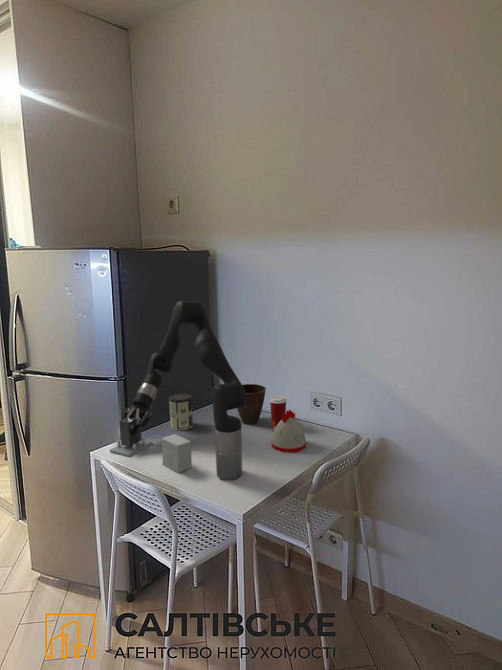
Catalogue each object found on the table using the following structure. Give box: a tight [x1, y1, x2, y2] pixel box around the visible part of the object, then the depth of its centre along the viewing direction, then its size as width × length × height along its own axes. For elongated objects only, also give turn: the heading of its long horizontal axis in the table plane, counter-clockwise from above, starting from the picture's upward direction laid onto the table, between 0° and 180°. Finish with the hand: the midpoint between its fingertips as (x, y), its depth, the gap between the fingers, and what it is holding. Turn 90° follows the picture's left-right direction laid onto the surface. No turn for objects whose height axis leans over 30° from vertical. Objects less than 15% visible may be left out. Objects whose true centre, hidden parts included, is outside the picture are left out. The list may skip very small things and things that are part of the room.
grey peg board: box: [109, 437, 153, 458], centre depth 190 cm, size 14×10×4 cm
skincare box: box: [161, 433, 193, 474], centre depth 173 cm, size 10×6×10 cm, turn 44°
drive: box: [119, 416, 143, 447], centre depth 189 cm, size 7×5×10 cm
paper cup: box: [269, 395, 288, 429], centre depth 208 cm, size 8×8×14 cm
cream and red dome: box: [271, 409, 307, 453], centre depth 189 cm, size 14×14×15 cm
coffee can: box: [168, 392, 194, 431], centre depth 212 cm, size 10×10×14 cm
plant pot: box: [236, 383, 267, 425], centre depth 216 cm, size 15×15×16 cm
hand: (127, 433), depth 188 cm, fingers closed on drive, 4 cm apart
